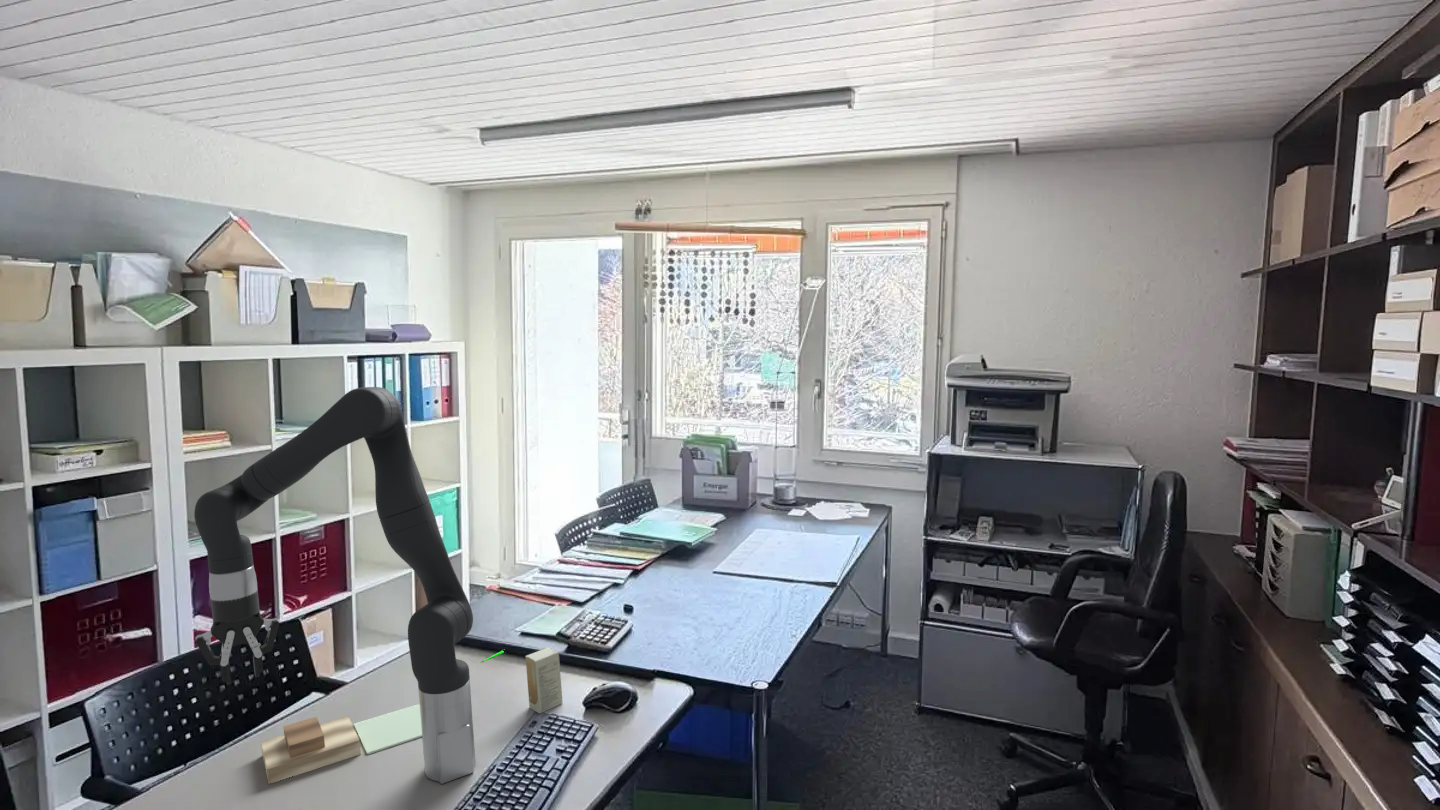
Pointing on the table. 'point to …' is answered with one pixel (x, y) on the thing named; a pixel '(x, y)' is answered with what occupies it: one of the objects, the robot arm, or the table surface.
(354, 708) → the table surface
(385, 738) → the mat
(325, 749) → the beige ridged block
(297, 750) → the brown wooden block
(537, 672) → the skincare box
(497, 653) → the pen
